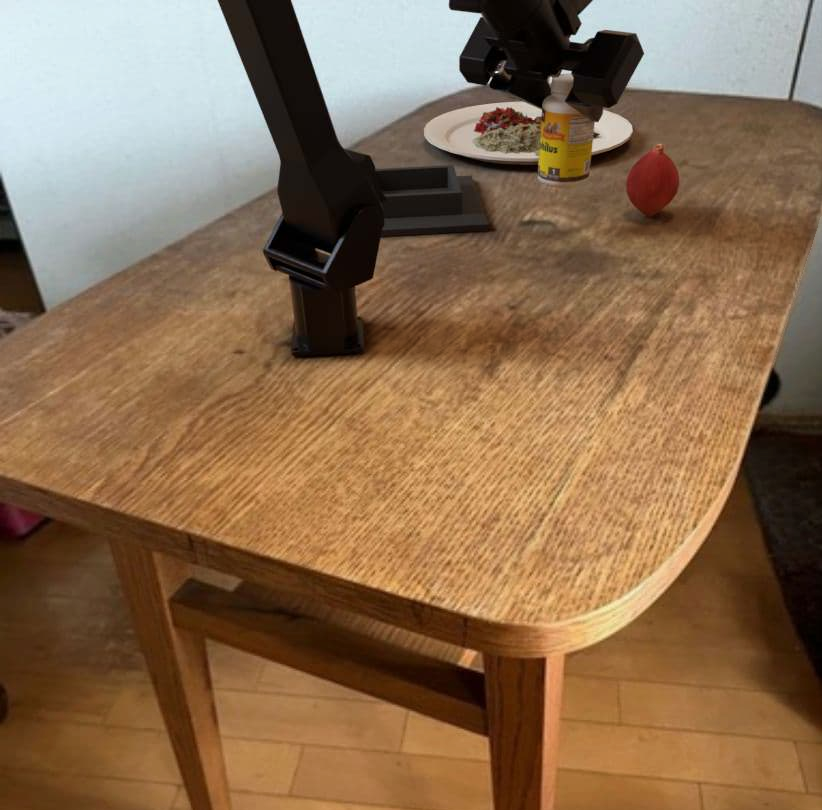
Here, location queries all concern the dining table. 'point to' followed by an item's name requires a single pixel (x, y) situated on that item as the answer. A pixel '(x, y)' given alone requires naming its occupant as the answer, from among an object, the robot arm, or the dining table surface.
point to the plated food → (510, 132)
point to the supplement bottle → (564, 139)
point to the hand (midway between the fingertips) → (576, 113)
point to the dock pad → (429, 201)
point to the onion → (652, 181)
